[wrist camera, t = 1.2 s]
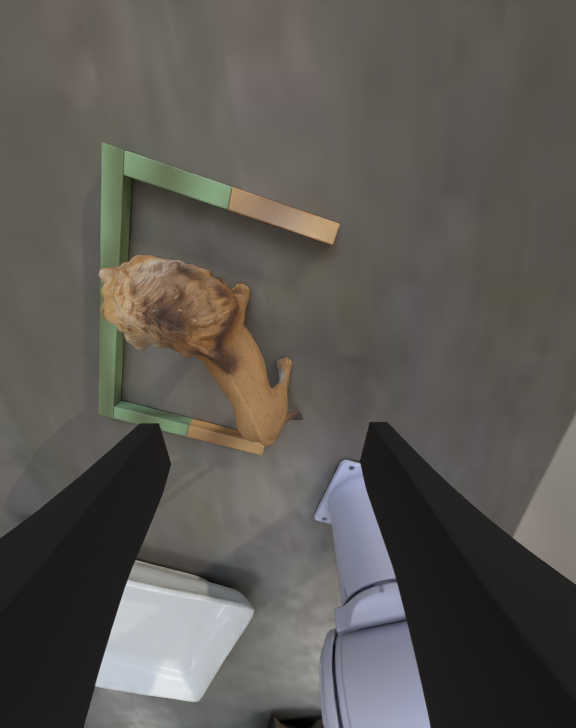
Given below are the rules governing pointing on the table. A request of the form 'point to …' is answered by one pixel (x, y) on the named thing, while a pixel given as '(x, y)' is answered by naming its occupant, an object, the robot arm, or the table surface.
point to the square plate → (171, 633)
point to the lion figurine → (199, 334)
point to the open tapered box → (278, 723)
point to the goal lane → (114, 252)
